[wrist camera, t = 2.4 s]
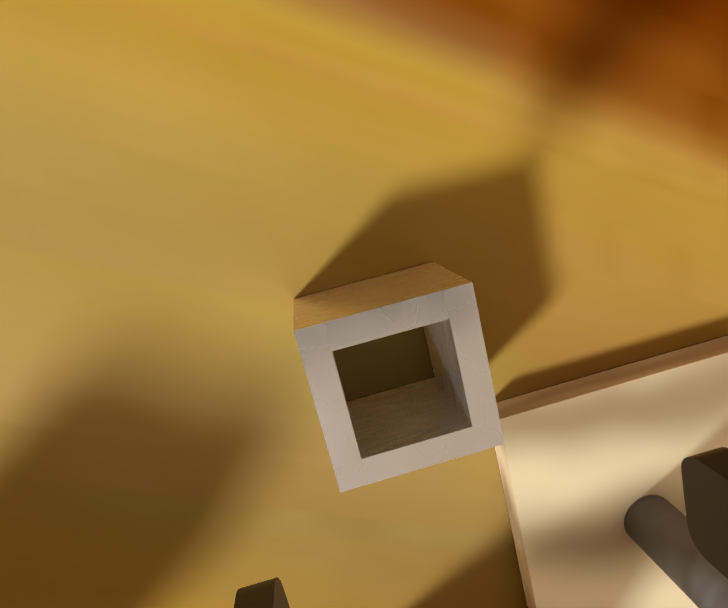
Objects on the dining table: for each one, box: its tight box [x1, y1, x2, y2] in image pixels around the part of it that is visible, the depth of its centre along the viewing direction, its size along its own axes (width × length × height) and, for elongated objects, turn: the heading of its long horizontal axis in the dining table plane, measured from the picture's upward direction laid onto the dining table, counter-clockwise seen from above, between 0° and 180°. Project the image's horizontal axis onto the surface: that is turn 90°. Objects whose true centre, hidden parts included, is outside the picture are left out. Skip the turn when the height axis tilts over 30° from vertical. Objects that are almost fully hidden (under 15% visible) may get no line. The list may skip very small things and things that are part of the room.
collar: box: [294, 262, 504, 493], centre depth 20 cm, size 6×6×5 cm
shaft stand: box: [495, 335, 728, 608], centre depth 21 cm, size 14×12×9 cm
